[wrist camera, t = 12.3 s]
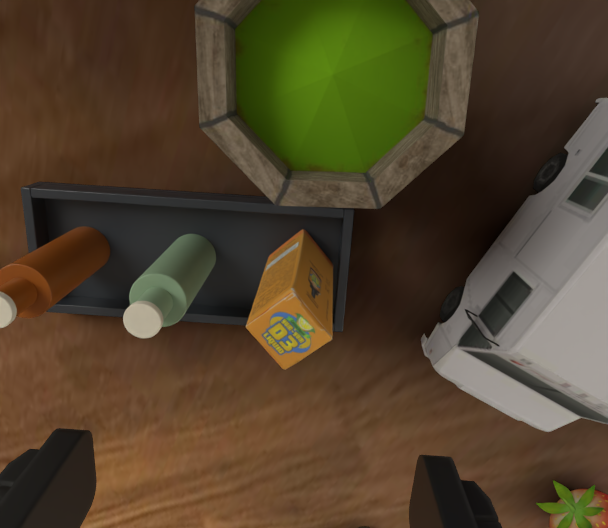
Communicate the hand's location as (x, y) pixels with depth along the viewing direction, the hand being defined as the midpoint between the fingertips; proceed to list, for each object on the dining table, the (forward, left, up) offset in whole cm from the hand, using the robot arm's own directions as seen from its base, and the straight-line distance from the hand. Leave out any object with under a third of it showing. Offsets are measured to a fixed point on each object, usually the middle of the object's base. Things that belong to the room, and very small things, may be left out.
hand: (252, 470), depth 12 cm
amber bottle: (-14, -2, -21) cm, 25 cm away
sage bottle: (-7, -2, -21) cm, 22 cm away
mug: (0, +12, -22) cm, 25 cm away
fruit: (+26, -23, -19) cm, 40 cm away
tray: (-7, -2, -22) cm, 23 cm away
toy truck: (+17, -1, -22) cm, 27 cm away
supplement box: (0, -2, -21) cm, 21 cm away
